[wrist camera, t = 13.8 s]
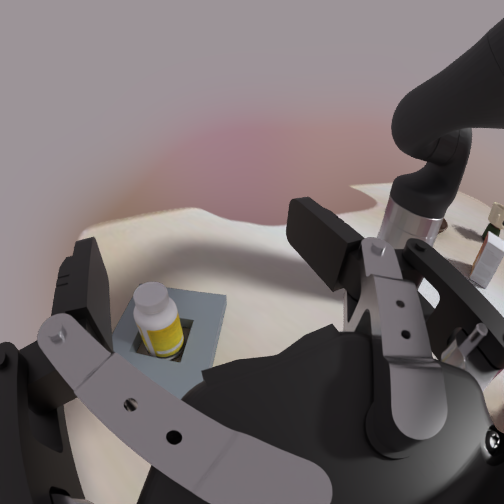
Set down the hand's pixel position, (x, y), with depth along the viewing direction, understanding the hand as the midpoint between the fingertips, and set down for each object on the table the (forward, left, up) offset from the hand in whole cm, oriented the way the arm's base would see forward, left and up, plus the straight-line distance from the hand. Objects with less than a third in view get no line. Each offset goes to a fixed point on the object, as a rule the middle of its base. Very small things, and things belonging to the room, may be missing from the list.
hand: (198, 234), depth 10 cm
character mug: (-53, +76, -25) cm, 96 cm away
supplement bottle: (-11, -10, -25) cm, 29 cm away
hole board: (-11, -10, -25) cm, 29 cm away
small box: (-33, +55, -25) cm, 69 cm away
